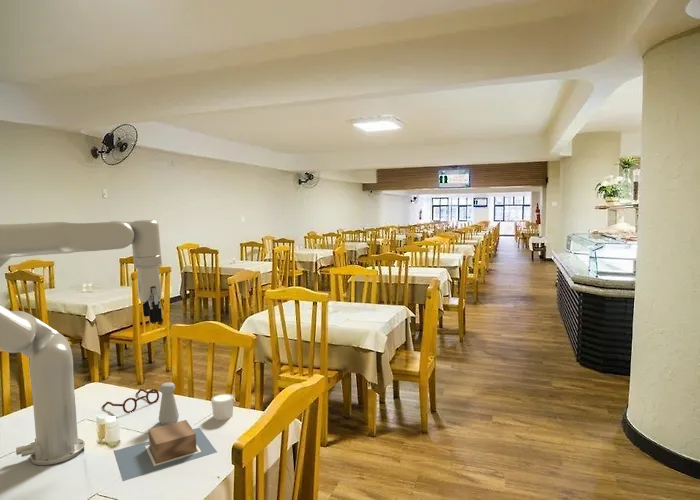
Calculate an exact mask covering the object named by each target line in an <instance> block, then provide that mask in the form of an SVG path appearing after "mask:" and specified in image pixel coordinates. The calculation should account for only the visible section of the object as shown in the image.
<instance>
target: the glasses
mask: <svg viewBox="0 0 700 500" xmlns="http://www.w3.org/2000/svg"><path fill="white" fill-rule="evenodd" d="M141 392H143V393H145V394H146V395H141V396H140V397H137V398H133V397H128V398H126V399H125V400H124V401H123V403H113V402H111V401H105V403H104V404H102V407H103V408H105V407H106V406H107V405H111V406H112V407H122V410H123V412H124V413H126V414H130V412H131V413H133V412H135V411H136V409H137V407H138V405H137V404H138V403H137V402H138V401H139V400H143V399H145V400H146V402H147V403H148V404H155V403H157V402H158V401H159V399H160V394H159V393H160V391H158V390H157V389H156V388H154V389H150V390H148V391H147V390H145V389H143V388H140V389H138V391H137V392H136V393H135V394H136V395H138V394H140V393H141ZM150 394H156V399H155V400H153V401H150V399H149V395H150ZM130 400H132V401H133V402H134V407H133V409H131V410H127V409H126V403H127V402H128V401H130ZM132 411H133V412H132Z"/></svg>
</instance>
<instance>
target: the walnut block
mask: <svg viewBox="0 0 700 500" xmlns="http://www.w3.org/2000/svg"><path fill="white" fill-rule="evenodd" d="M193 429H194V428H192V426H191V425H190V424H189V422H188V420H187V419H184V420H180V421H177V422H176V423H172V424H168V425H161V426H157V427H152V428H149V429H148V441H149V444H150V449H151V451H152V453H153V455H154V457H155V459H156V462H157V463H160V462H163V461H166V460H170V459H173V458H176V457H180V456H183V455H186V454H190V453H193V452H196V451H197V449H196V433H195V432H194V430H193Z"/></svg>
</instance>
